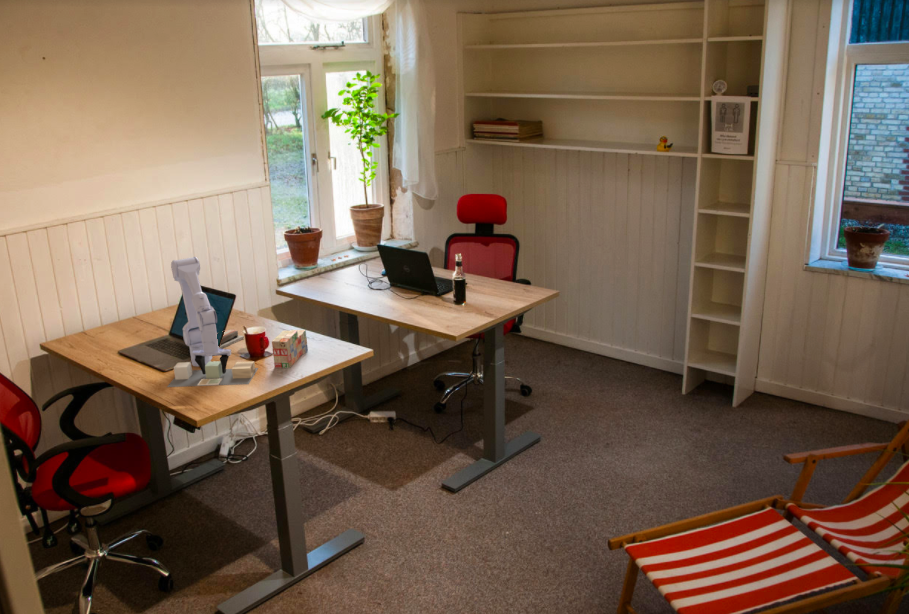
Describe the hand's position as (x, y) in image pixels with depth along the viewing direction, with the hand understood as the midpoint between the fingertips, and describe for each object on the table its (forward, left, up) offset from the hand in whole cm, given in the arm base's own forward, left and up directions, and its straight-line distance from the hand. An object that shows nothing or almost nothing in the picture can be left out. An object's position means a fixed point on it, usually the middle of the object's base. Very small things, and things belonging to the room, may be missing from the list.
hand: (214, 373), depth 302 cm
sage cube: (0, 0, -1) cm, 1 cm away
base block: (0, +11, -1) cm, 12 cm away
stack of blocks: (-16, +27, -2) cm, 31 cm away
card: (+6, 0, -1) cm, 7 cm away
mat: (+1, 0, -2) cm, 2 cm away
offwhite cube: (0, -12, -1) cm, 12 cm away
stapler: (-38, -8, -3) cm, 39 cm away
